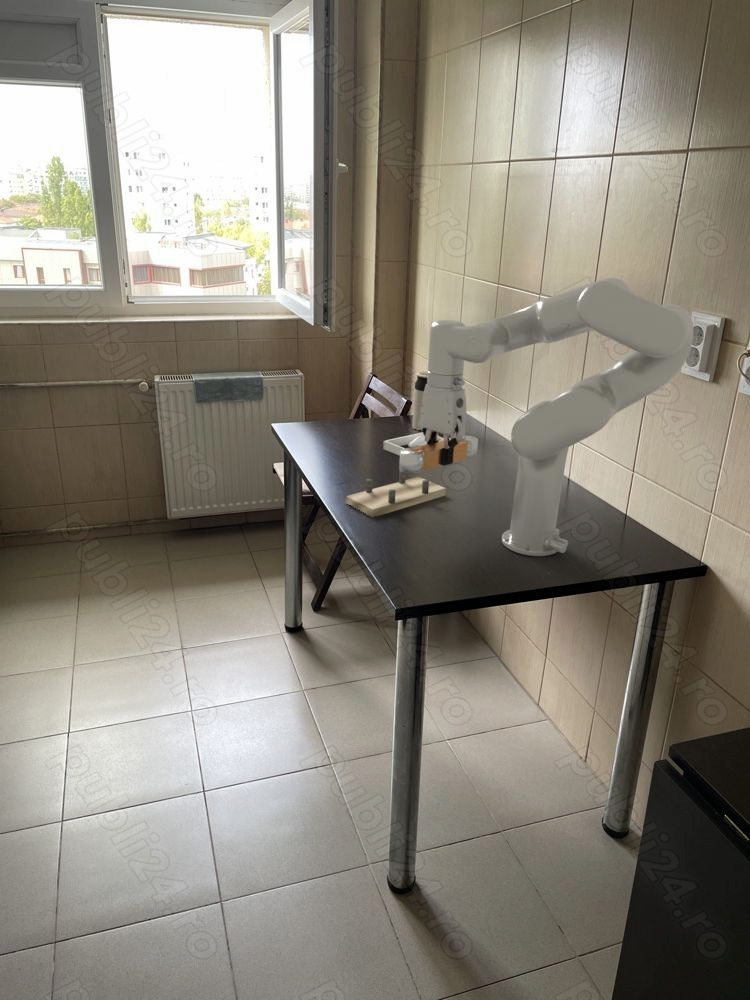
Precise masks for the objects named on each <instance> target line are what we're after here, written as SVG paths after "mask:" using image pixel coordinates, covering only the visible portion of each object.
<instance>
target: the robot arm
mask: <svg viewBox="0 0 750 1000" xmlns="http://www.w3.org/2000/svg"><path fill="white" fill-rule="evenodd" d="M592 331H594V332H596V333H598V334H600V335H602V336H603V337H606V338H607V339H610V340H612V341H613V342H616V343H618V344H620V345H623V346H625V347H626V348H629V349H631V350H633V352H631V353H630V354H628V355H626V356H625V357H622V359H620V360H618V361H617V362H615V363H613V364H612V365H610V366H607V367H606V368H605V369H604V368H603V369H602V370H600V371H598V372H597V373H595V374H592V375H590V376H588V377H586V378H584V379H581V380H580V381H578V382H576V383H575V384H574V385H573V386H571V388H569V389H568V390H566V391H564V392H563V393H561V394H559V395H557V396H555V397H554V398H552V399H550V400H544V401H540V402H538V403H536V404H534V405H533V406H531V407H530V408H529V409H527V410H526V411H525V412H524V413H523V414H522V415H521V416H520V417H518V419H517V420H516V421H515V422H514V424H513V426H512V428H511V432H510V433H511V434H510V441H511V444H512V448H513V449H514V451H516V453H517V455H519V456H518V457H519V458H518V463H517V469H516V470H517V471H516V477H515V478H516V479H515V485H514V487H515V488H514V492H513V493H514V495H513V500H512V501H513V502H512V503H513V504H512V510H511V517H510V519H511V521H510V526H509V528H510V529H507V530H505V531H504V532H503V533H502V535H501V543H502V545H504V547H505V548H506V549H508V550H510V551H512V552H514V553H518V554H519V555H526V556H530V557H531V556H532V557H546V556H551V555H554V554H556V553H558V552H559V553H562V554H564V553H566V551H567V548H568V545H569V540H567V539H564V538H561V537H560V530H561V529H559V528H557V520H558V514H559V508H560V507H559V506H560V499H561V494H562V486H563V481H564V475H565V468H566V462H567V457H568V452H569V448H570V447H572V446H574V445H575V444H578V443H580V442H582V441H583V440H586V439H587V438H589V437H592V436H593V435H594V434H596V433H598V432H599V431H600V430H602V429H603V428H604V427H605V426H606V425H607V424H608V423H609V421H611V419H612V418H614V416H615V415H616V414H617V413H619V412H621V411H623V410H624V409H626V408H628V407H630V406H632V405H634V404H636V403H638V402H639V401H641V400H642V399H644V398H646V397H648V396H649V395H651V394H653V393H655V392H656V391H659V390H660V389H661V388H662V387H663V386H665V385H667V384H668V383H669V382H670V381H671V380H672V379H674V377H675V376H677V374H678V373H679V372H680V370H682V367H683V366H684V364H685V363H686V361H687V360H688V357H689V355H690V353H691V350H692V349H691V348H692V345H693V341H694V323H693V318H692V317H691V314H690V313H689V311H688V310H687V308H684V307H683V306H681V305H680V304H675V303H664V304H661V305H658V304H656V303H654V302H652V301H650V300H648V299H645V298H643V297H641V296H639V295H637V294H634V293H633V292H632V291H631V289H630V287H629V285H628V284H627V283H626V282H625V281H624V280H622V279H620V278H616V277H607V278H602V279H599V280H597V281H594V282H590V283H588V284H584V285H582V286H579V287H576V288H573V289H570V290H568V291H564V292H561V293H559V294H556V295H553V296H550V297H547V298H546V297H545V298H544V299H541V300H539V301H537V302H535V303H533V304H532V305H530V306H527V307H525V308H523V309H520V310H516V311H515V312H512V313H508V314H505V315H502V316H499V317H495V318H493V319H489V320H487V321H484V322H483V321H482V322H481V323H478V324H474V325H467V326H466V325H465V323H463V322H461V321H458V320H448V319H447V320H446V319H445V320H443V319H442V320H436V321H434V322H432V324H431V327H430V331H429V345H428V346H429V348H428V361H427V371H428V376H427V384H426V386H425V389H424V394H423V399H422V406H421V418H420V420H419V421H418V426H419V427H420V428H421V430H422V431H421V433H422V432H423V434H424V436H425V441H426V442H427V444H432V443H436V442H439V441H438V440H437V436H439V434H442V435H443V437H442V438H444V447H445V448H442V457H441V465H442V466H443V467H444V466H448V465H452V464H453V454H454V447H456V446H457V444H458V443H459V442H461V441H463V440H465V439H466V435H467V434H466V427H467V396H466V391H465V390H466V389H465V388H463V386H465V383H466V381H465V379H463V378H464V377H463V375H464V367H465V366H464V365H465V361H466V362H469V363H471V364H472V363H473V364H483V363H485V362H488V361H490V360H491V359H493V358H495V357H498V356H500V355H503V354H505V353H509V352H512V351H514V350H517V349H520V348H524V347H528V346H530V345H531V346H532V345H535V344H542V343H544V344H552V343H556V342H559V341H563V340H565V339H568V338H569V339H570V338H572V337H575V336H578V335H582V334H585V333H589V332H592ZM449 438H450V439H451V440H450V441H449Z"/></svg>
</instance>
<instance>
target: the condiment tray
mask: <svg viewBox="0 0 750 1000" xmlns="http://www.w3.org/2000/svg"><path fill="white" fill-rule="evenodd" d="M422 435H424V434H423V432H422V431H421V432H418V433H414V434H409V435H405V436H400V437H394V438H392V439H386V440H383V441H382V443H383V444H382V446H383V447H382V449H383V450H384V451H386V452H390V453H391V454H394V455H397V456H399V457H400V450H402V449H406V448H405V447H402V446H407V445H409V444H410V443H411V442H412V441H413V440H414V439H416V438H417V437H419V436H422ZM440 440H444V437H441V436H439V437H438V441H440Z"/></svg>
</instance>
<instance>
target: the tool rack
mask: <svg viewBox="0 0 750 1000" xmlns="http://www.w3.org/2000/svg"><path fill="white" fill-rule="evenodd" d="M398 474H399V476H398V477H399V478H398V481H397V482H394V483H390V484H385V485H383V486H379V487H375V488H373V483H374V482H373V479H371V478H366V480H365V490H364V491H360V492H357V493H352V494H349V495H346V496H345V504H346V503H347V504H349V505H351V506H353V507H354V508H353V507H352V508H353V509H355V508H356V509H355V510H357V509H358V510H357V511H359V510H360V511H359V512H361V511H362V512H361V513H363V512H364V513H363V514H365V513H366V514H365V515H366V516H369V517H371V518H372V517H373V518H375V516H376V517H378V516H382V515H386V514H390V513H392V512H396V511H398V510H402V509H405V508H409V507H413V506H415V505H418V504H422V503H425V502H429V501H433V500H436V499H438V498H442V497H446V492H447V488H446V487H444V486H442V485H439V484H437V483H434V482H432V481H429V480H427V479H425V478H423V477H420V476H416V477H413V478H408V479H406V475H407V473H404V472H401V471H400V470H399V473H398ZM347 504H346V505H347ZM349 505H348V506H349ZM351 506H350V507H351Z"/></svg>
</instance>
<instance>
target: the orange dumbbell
mask: <svg viewBox="0 0 750 1000" xmlns="http://www.w3.org/2000/svg"><path fill="white" fill-rule="evenodd" d="M450 440H451V438H450V439H449V441H450ZM478 445H479V438H477V437H476V436H473V435H467V434H466V439H465V440H463V441H461V442H459V443H458V444H457V446H456V447H454V454H453V463H456V462H457V463H458V462H461V461H464V460H472V459H475V458H477V456H478ZM442 448H445V447H444V441H440V442H436V443H432V444H427V445H423V446H419V447H414V448H411V447H408V448H405V449H402V450H400V456H399V466H398V467H399V469H398V471H399V472H400V471H401V472H404V473H406V474H408V475H409V474H410V475H411V474H412V475H413V474H421V473H423V472H424V471H427V470H432V469H435V468H438V467H442V466H443V465H441V457H442ZM453 463H452V464H453Z"/></svg>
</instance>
